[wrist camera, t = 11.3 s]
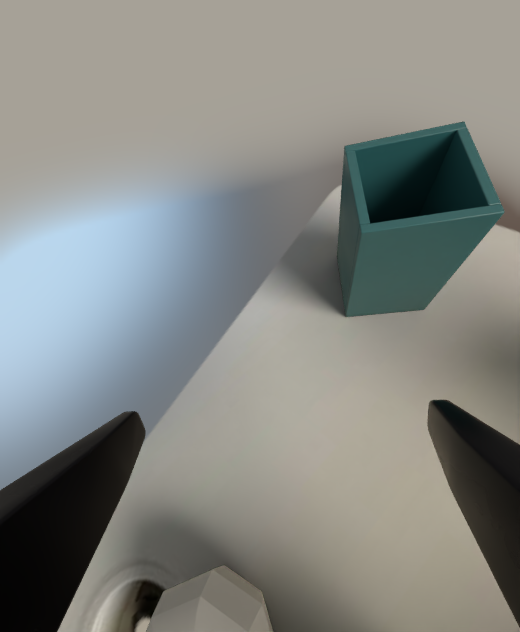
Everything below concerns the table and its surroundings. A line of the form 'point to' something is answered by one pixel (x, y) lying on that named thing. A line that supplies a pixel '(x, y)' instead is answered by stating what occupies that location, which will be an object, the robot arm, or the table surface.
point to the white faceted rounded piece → (212, 605)
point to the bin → (410, 217)
